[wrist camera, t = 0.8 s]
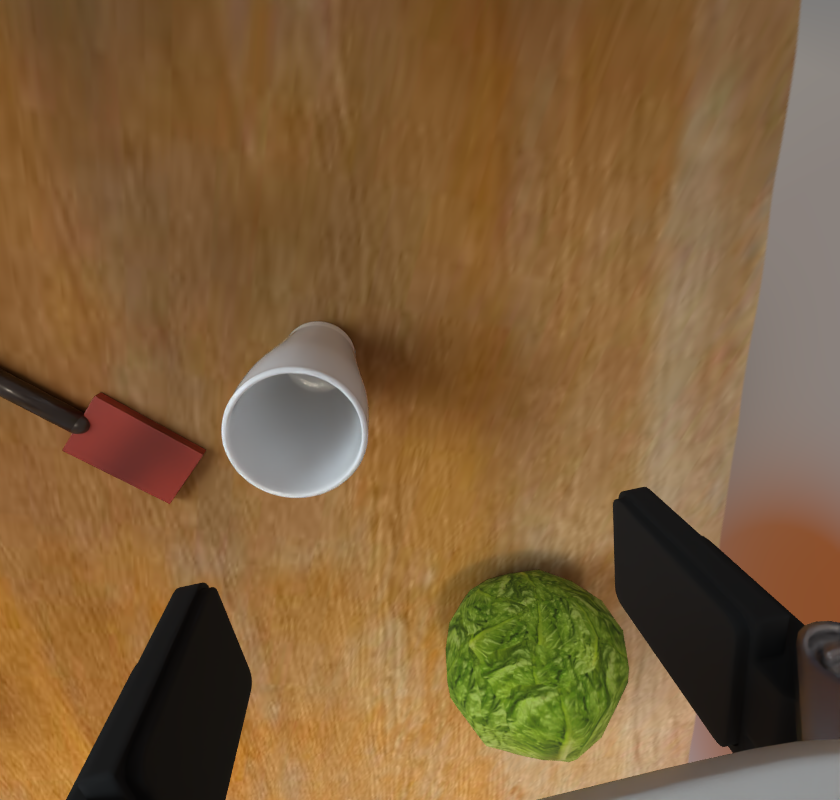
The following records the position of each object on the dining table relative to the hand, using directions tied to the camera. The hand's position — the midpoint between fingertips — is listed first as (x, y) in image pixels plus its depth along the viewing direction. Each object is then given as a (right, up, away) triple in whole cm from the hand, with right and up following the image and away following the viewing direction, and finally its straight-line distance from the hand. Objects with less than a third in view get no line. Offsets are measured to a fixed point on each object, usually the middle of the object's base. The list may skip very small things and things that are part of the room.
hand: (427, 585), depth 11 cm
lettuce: (+10, -20, +38) cm, 44 cm away
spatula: (-26, +3, +24) cm, 36 cm away
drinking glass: (-8, +8, +25) cm, 27 cm away
